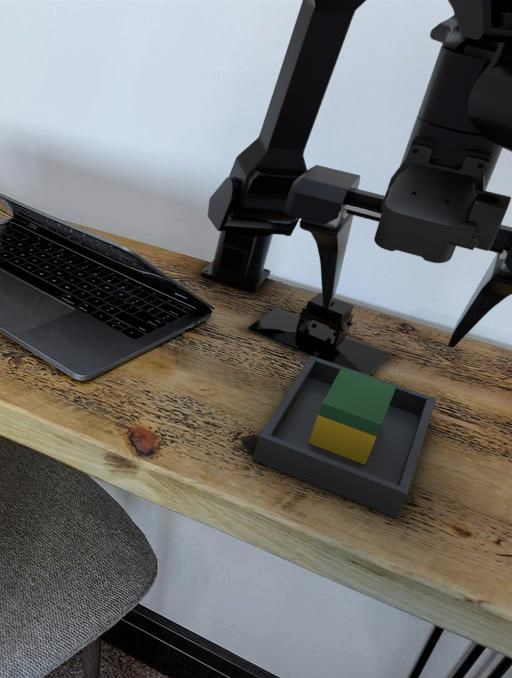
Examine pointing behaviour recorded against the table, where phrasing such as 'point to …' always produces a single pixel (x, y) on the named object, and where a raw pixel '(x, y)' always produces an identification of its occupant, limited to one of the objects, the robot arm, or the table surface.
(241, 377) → the table surface
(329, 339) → the black mechanical part
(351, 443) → the sponge
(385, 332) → the table surface
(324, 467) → the tray
